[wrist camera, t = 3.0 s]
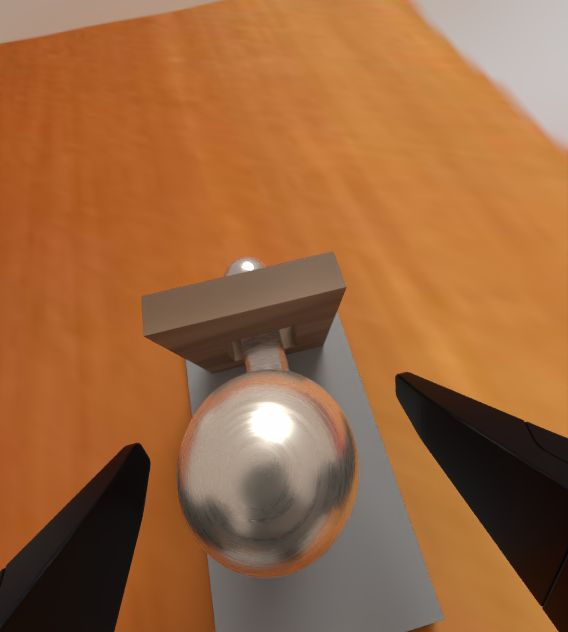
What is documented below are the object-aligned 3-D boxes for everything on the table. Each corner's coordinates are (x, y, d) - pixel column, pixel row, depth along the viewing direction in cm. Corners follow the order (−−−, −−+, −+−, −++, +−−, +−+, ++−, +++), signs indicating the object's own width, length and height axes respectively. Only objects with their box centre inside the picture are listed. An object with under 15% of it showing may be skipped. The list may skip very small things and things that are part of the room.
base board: (431, 601, 13) (444, 619, 12) (228, 665, 12) (222, 690, 11) (330, 307, 19) (333, 300, 17) (190, 342, 18) (183, 337, 17)
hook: (329, 463, 13) (430, 597, 3) (257, 483, 13) (140, 685, 3) (276, 272, 17) (252, 79, 7) (221, 285, 17) (121, 104, 7)
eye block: (323, 345, 16) (346, 286, 9) (212, 373, 16) (143, 335, 9) (316, 323, 17) (333, 251, 10) (208, 350, 17) (141, 296, 9)
